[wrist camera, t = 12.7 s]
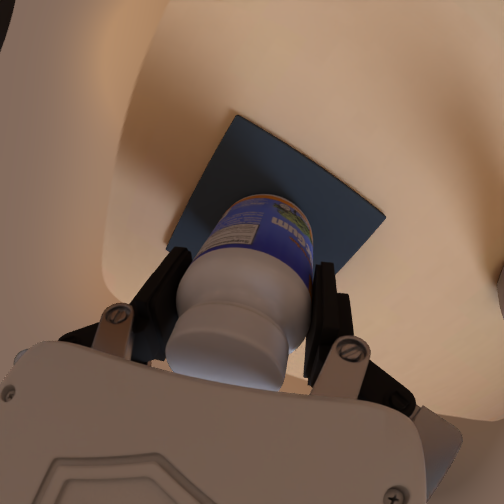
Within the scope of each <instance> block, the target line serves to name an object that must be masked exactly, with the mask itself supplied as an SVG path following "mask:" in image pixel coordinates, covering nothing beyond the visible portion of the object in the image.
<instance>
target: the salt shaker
mask: <svg viewBox="0 0 504 504" xmlns="http://www.w3.org/2000/svg"><path fill="white" fill-rule="evenodd" d="M497 291H498V297H499V304H500V309H501V313H502V316H503V318H504V266H503V269H502V272H501V275H500V278H499V281H498V283H497Z"/></svg>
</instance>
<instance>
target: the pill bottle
mask: <svg viewBox="0 0 504 504" xmlns="http://www.w3.org/2000/svg"><path fill="white" fill-rule="evenodd" d="M312 285H313V237H312V230H311V227H310V224H309V222H308V220H307V218H306V216H305V215H304V213H303V212H302V211H301V210H300V209H299V208H298V207H297V206H296V205H295V204H293V203H292V202H290V201H289V200H287V199H285V198H282V197H280V196H276V195H271V194H256V195H251V196H248V197H245V198H243V199H241V200H239V201H237V202H236V203H235V204H233V205H232V206H231V207H230V208H229V209H228V210H227V211H226V212H225V213H224V215H223V217H222V218H221V219H220V221H219V222H218V224H217V225H216V227H215V228H214V230H213V231H212V233H211V234H210V236H209V237H208V239H207V240H206V242H205V243H204V245H203V246H202V247H201V249H200V251H199V252H198V254H197V255H196V257H195V258H194V260H193V261H192V263H191V264H190V266H189V267H188V269H187V271H186V272H185V274H184V276H183V277H182V279H181V281H180V283H179V286H178V289H177V294H176V309H177V313H178V317H179V318H178V320H177V322H176V324H175V327H174V329H173V332H172V334H171V336H170V338H169V340H168V342H167V345H166V350H165V353H166V359H167V362H168V364H169V366H170V368H171V369H172V371H173V372H174V373H178V374H183V375H187V376H191V377H196V378H200V379H205V380H210V381H215V382H220V383H226V384H231V385H237V386H243V387H249V388H256V389H263V390H270V391H279V389H280V388H281V386H282V384H283V382H284V378H285V373H286V367H287V360H288V355H289V354H290V353H292V352H293V351H294V350H295V349H296V348H298V347H299V346H300V344H301V343H302V342H303V340H304V339H305V337H306V335H307V333H308V330H309V327H310V323H311V314H312Z"/></svg>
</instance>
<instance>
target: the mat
mask: <svg viewBox="0 0 504 504" xmlns="http://www.w3.org/2000/svg"><path fill="white" fill-rule="evenodd" d="M256 194H271V195H276V196H280V197H282V198H285V199H287V200H289V201H290V202H292V203H293V204H295V205H296V206H297V207H298V208H299V209H300V210H301V211H302V212H303V213H304V215H305V216H306V218H307V220H308V222H309V224H310V227H311V230H312V237H313V279H314V272H315V266H316V264H318V265H320V263H321V261H322V262H332V263H334V270H335V274H336V273H337V272H338V271H339V270H340V269H341V268H342V267H343V266H344V265H345V264H346V263H347V262H348V261H349V259H350V258H351V257H352V256H353V255H354V254H355V253H356V252H357V251H358V250H359V248H360V247H361V246H362V245H363V244H364V243H365V242H366V241H367V240H368V238H369V237H370V236H371V235H372V234H373V233H374V232H375V230H376V229H377V228H378V227H379V226H380V225H381V223H382V222H383V221H384V220H385V219H386V216H385V215H384V214H383V213H382V212H380V211H379V210H378V209H377V208H375V207H374V206H373V205H372V204H370V203H369V202H368V201H367V200H365V199H364V198H363V197H361V196H360V195H359V194H357V193H356V192H355V191H354V190H352V189H351V188H350V187H348V186H347V185H346V184H344V183H343V182H341V181H340V180H339V179H337V178H336V177H335V176H333V175H332V174H330V173H329V172H328V171H326V170H325V169H323V168H322V167H320V166H319V165H318V164H316V163H315V162H313V161H312V160H310V159H309V158H307V157H306V156H304V155H303V154H301V153H300V152H298V151H297V150H295V149H294V148H292V147H291V146H289V145H288V144H286V143H284V142H283V141H281V140H280V139H278V138H276V137H275V136H273V135H272V134H270V133H268V132H267V131H265V130H263V129H262V128H260V127H258V126H257V125H255V124H253V123H252V122H250V121H248V120H246V119H245V118H243V117H241V116H239V115H236V116H235V118H234V120H233V121H232V123H231V125H230V127H229V128H228V130H227V132H226V133H225V135H224V137H223V139H222V140H221V142H220V144H219V146H218V147H217V149H216V151H215V153H214V155H213V156H212V158H211V160H210V162H209V164H208V166H207V167H206V169H205V171H204V173H203V175H202V177H201V179H200V180H199V182H198V184H197V186H196V188H195V190H194V192H193V194H192V196H191V198H190V200H189V202H188V204H187V206H186V208H185V210H184V212H183V214H182V216H181V218H180V220H179V222H178V224H177V226H176V228H175V230H174V232H173V234H172V237H171V239H170V241H169V243H168V245H167V247H166V250H167V251H169V252H170V251H171V250H172V249H173V248H174V247H186V248H187V249H188V251H191V254H192V261H193V260H194V258H195V257H196V255H197V254H198V252H199V251H200V249H201V247H202V246H203V245H204V243H205V242H206V240H207V239H208V237H209V236H210V234H211V233H212V231H213V230H214V228H215V227H216V225H217V224H218V222H219V221H220V219H221V218H222V217H223V215H224V213H225V212H226V211H227V210H228V209H229V208H230V207H231V206H232V205H233V204H235V203H236V202H237V201H239V200H241V199H243V198H245V197H248V196H251V195H256Z"/></svg>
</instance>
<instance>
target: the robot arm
mask: <svg viewBox="0 0 504 504" xmlns="http://www.w3.org/2000/svg"><path fill="white" fill-rule="evenodd" d="M191 263H192V254H191V251H188V249H187V248H186V247H174V248H173V249H172V250H171V251H170V253H169V254H168V255H167V256H166V258H165V259H164V260H163V261H162V263H161V264H160V265H159V267H158V268H157V269H156V270H155V272H154V273H153V274H152V275H151V276H150V278H149V279H148V280H147V281H146V283H145V284H144V285H143V287H142V288H141V289H140V291H139V292H138V293H137V295H136V296H135V297H134V299H133V300H132V301H131V303H130V304H127V303H116V304H113V305H111V306H109V307H107V308H106V309H105V310H104V312H103V314H102V316H101V319H100V322H98V323H95V324H92V325H90V326H87V327H84V328H81V329H78V330H75V331H72V332H69V333H67V334H65V335H63V336H62V337H60V338H59V340H58V341H43V342H40V343H37V344H35V345H33V346H32V347H31V348H29V349H25V350H23V351H21V352H19V353H18V354H17V355H16V357H15V359H14V366H13V367H12V369H11V370H10V372H9V373H8V374H7V375H6V377H5V378H4V380H3V381H2V383H1V384H0V504H426V503H427V502H428V500H429V499H430V498H431V496H432V494H433V493H434V491H435V490H436V489H437V487H438V486H439V484H440V482H441V481H442V479H443V478H444V476H445V474H446V473H447V471H448V469H449V468H450V466H451V464H452V463H453V461H454V459H455V457H456V455H457V453H458V451H459V450H460V447H461V445H462V442H463V438H462V434H461V432H460V431H459V429H458V428H456V427H455V426H453V425H452V424H450V423H449V422H447V421H446V420H444V419H443V418H441V417H440V416H438V415H437V414H435V413H434V412H432V411H431V410H429V409H428V408H426V407H425V406H422V407H419V406H418V405H417V404H416V401H415V398H414V396H413V394H412V393H411V392H410V391H409V390H408V389H407V388H405V387H404V386H403V385H402V384H400V383H399V382H398V381H396V380H395V379H394V378H392V377H391V376H390V375H389V374H387V373H386V372H385V371H383V370H382V369H381V368H380V367H378V366H377V365H376V364H374V363H373V362H372V361H371V360H369V359H370V354H371V350H370V347H369V345H368V344H367V343H366V342H365V341H364V340H363V339H361V338H359V337H356V336H354V331H353V322H352V314H351V307H350V300H349V295H348V294H344V293H337V289H336V279H335V270H334V263H332V262H322V261H321V263H320V265H318V264H316V266H315V272H314V279H313V285H312V314H311V323H310V327H309V330H308V333H307V335H306V347H305V362H304V376H303V377H304V378H308V385H310V386H311V387H312V388H313V389H312V390H311V393H310V394H309V395H304V394H295V393H286V392H278V391H270V390H263V389H256V388H249V387H243V386H237V385H231V384H226V383H220V382H215V381H210V380H205V379H200V378H196V377H191V376H187V375H183V374H178V373H174V372H170V371H166V370H162V369H158V368H155V367H151V360H154V359H157V360H160V361H164V360H165V358H166V353H165V350H166V345H167V342H168V340H169V338H170V336H171V334H172V332H173V329H174V327H175V324H176V322H177V320H178V318H179V317H178V313H177V309H176V294H177V289H178V286H179V283H180V281H181V279H182V277H183V276H184V274H185V272H186V271H187V269H188V267H189V266H190V264H191Z"/></svg>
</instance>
